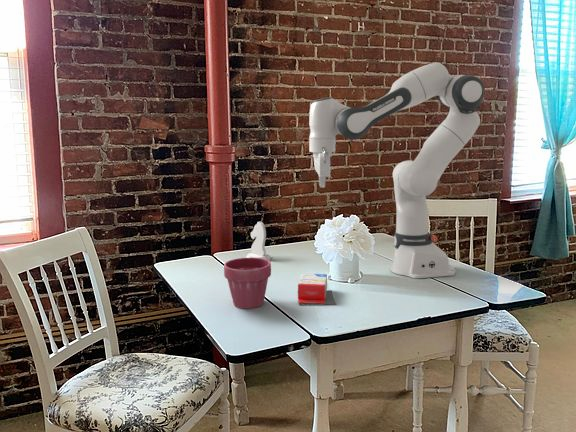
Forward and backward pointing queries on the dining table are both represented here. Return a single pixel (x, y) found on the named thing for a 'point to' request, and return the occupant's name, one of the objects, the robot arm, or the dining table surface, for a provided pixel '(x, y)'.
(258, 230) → the chess piece
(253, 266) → the plant pot
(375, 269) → the dining table surface
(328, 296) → the mat
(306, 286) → the ink box
